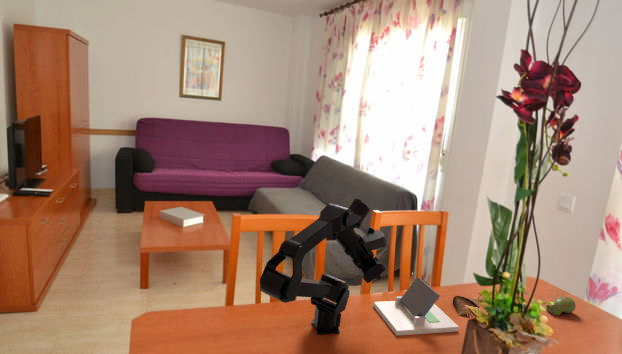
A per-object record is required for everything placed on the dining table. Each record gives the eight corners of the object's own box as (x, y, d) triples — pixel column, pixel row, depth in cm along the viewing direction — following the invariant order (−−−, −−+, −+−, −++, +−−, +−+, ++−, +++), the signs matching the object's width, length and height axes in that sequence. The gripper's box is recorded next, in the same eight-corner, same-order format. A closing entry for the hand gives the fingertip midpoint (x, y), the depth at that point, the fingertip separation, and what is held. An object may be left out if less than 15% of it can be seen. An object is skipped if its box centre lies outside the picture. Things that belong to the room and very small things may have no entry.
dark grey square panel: (413, 320, 119) (434, 292, 119) (397, 302, 129) (417, 276, 128) (419, 323, 120) (440, 295, 120) (403, 306, 129) (422, 280, 129)
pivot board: (396, 335, 115) (398, 322, 114) (373, 306, 130) (375, 294, 129) (458, 331, 121) (460, 318, 120) (429, 303, 136) (431, 292, 135)
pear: (580, 300, 137) (556, 306, 134) (578, 314, 138) (555, 320, 136) (566, 292, 142) (542, 298, 140) (564, 305, 144) (541, 311, 141)
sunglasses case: (457, 316, 129) (457, 294, 132) (451, 316, 136) (452, 295, 138) (516, 325, 127) (516, 303, 129) (508, 325, 134) (508, 304, 136)
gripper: (384, 235, 105) (415, 276, 110) (362, 211, 122) (389, 247, 127) (349, 262, 105) (382, 302, 110) (332, 234, 122) (361, 270, 127)
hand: (379, 278), depth 118 cm, fingers closed
